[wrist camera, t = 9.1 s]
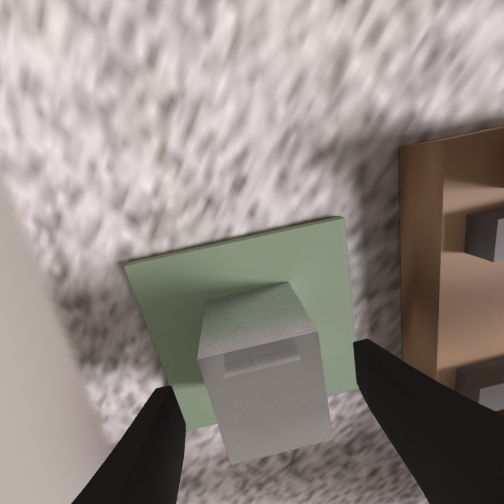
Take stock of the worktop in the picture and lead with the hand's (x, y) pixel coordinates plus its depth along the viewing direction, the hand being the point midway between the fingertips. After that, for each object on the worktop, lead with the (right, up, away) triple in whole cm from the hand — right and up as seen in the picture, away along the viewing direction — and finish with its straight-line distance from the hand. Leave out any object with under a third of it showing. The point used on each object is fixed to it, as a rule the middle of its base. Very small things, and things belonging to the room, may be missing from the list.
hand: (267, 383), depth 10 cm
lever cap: (0, +1, +3) cm, 3 cm away
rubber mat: (0, +1, +3) cm, 4 cm away
